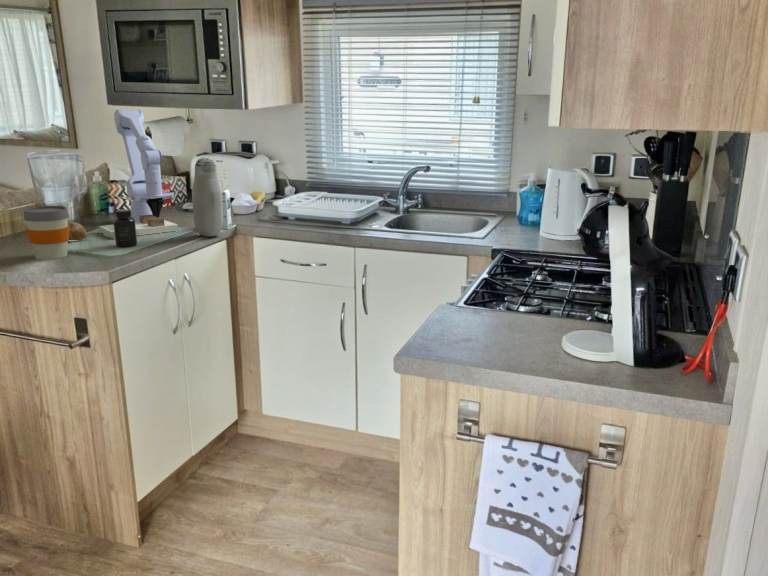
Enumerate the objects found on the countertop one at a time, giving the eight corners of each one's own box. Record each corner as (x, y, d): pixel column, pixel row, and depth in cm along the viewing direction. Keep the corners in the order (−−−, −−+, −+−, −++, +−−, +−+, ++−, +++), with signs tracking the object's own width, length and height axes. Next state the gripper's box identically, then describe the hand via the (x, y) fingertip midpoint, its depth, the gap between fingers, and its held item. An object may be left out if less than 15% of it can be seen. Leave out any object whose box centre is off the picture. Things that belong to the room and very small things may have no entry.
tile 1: (139, 222, 253) (139, 215, 253) (151, 220, 256) (150, 214, 255) (144, 224, 250) (144, 217, 249) (156, 222, 253) (155, 216, 252)
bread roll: (88, 250, 235) (96, 229, 235) (60, 242, 227) (67, 220, 227) (76, 246, 241) (83, 225, 241) (48, 237, 233) (55, 216, 234)
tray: (99, 232, 246) (98, 226, 245) (124, 230, 251) (123, 223, 251) (113, 239, 236) (112, 232, 235) (138, 236, 241) (137, 229, 240)
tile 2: (147, 225, 248) (147, 218, 247) (159, 223, 251) (159, 217, 250) (152, 227, 245) (152, 220, 244) (164, 225, 247) (164, 219, 247)
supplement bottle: (141, 244, 228) (138, 209, 225) (128, 248, 222) (124, 212, 219) (125, 242, 231) (121, 208, 227) (111, 246, 224) (107, 211, 221)
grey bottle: (189, 236, 242) (184, 157, 234) (213, 232, 249) (209, 156, 242) (205, 240, 236) (200, 159, 228) (229, 236, 243) (225, 158, 235)
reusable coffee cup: (33, 252, 215) (27, 206, 210) (76, 250, 218) (70, 205, 214) (25, 262, 203) (18, 213, 199) (70, 259, 206) (64, 211, 202)
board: (124, 230, 251) (123, 223, 251) (162, 225, 261) (162, 219, 260) (138, 236, 241) (137, 229, 240) (178, 231, 251) (177, 224, 250)
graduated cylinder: (228, 229, 255) (226, 191, 251) (213, 229, 255) (210, 191, 251) (232, 226, 260) (230, 189, 256) (217, 226, 260) (214, 189, 256)
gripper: (138, 185, 244) (141, 222, 247) (176, 182, 253) (179, 218, 257) (131, 183, 249) (134, 219, 253) (168, 180, 258) (171, 215, 262)
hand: (156, 218), depth 255 cm, fingers closed
